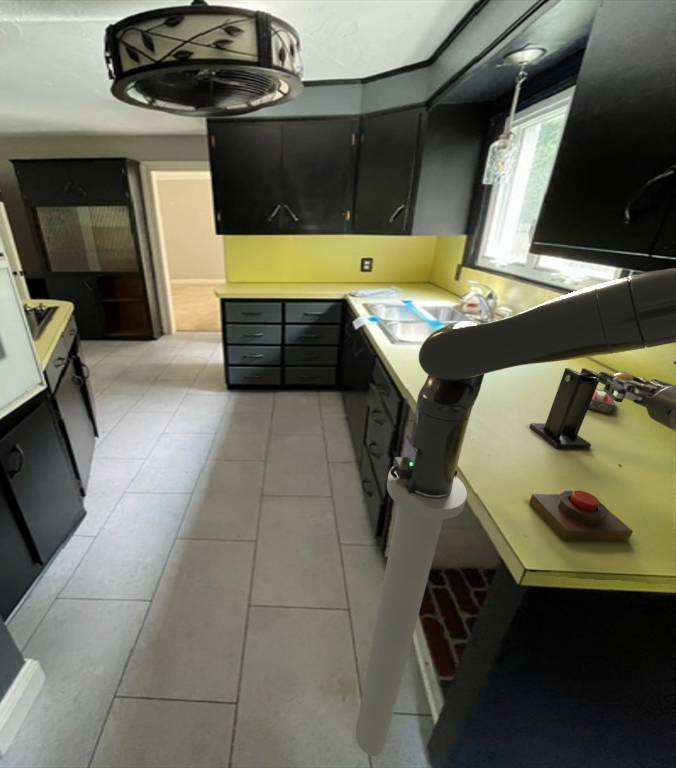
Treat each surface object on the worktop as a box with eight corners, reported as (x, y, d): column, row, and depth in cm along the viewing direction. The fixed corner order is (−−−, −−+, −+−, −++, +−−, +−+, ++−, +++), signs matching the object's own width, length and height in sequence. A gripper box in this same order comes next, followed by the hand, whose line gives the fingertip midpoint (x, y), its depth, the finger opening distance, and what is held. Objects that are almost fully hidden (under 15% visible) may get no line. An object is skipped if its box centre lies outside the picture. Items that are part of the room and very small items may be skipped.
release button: (580, 512, 62) (583, 504, 61) (564, 497, 65) (567, 490, 64) (601, 512, 62) (604, 504, 61) (584, 498, 65) (588, 490, 64)
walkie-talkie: (575, 391, 116) (568, 413, 102) (580, 379, 114) (574, 399, 100) (611, 400, 110) (609, 424, 97) (617, 386, 109) (615, 409, 95)
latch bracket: (589, 448, 86) (619, 380, 79) (556, 448, 86) (582, 379, 79) (559, 427, 95) (583, 364, 88) (529, 427, 95) (550, 363, 88)
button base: (563, 540, 61) (571, 522, 59) (528, 502, 69) (535, 486, 67) (628, 540, 61) (638, 522, 59) (586, 503, 69) (593, 486, 68)
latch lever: (638, 390, 73) (639, 372, 72) (620, 390, 73) (621, 372, 72) (582, 386, 86) (583, 370, 85) (567, 385, 86) (568, 370, 85)
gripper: (749, 395, 60) (650, 359, 75) (663, 394, 60) (582, 359, 75) (726, 434, 63) (635, 392, 78) (644, 433, 63) (570, 391, 78)
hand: (609, 376), depth 77 cm, fingers closed on latch lever, 3 cm apart
